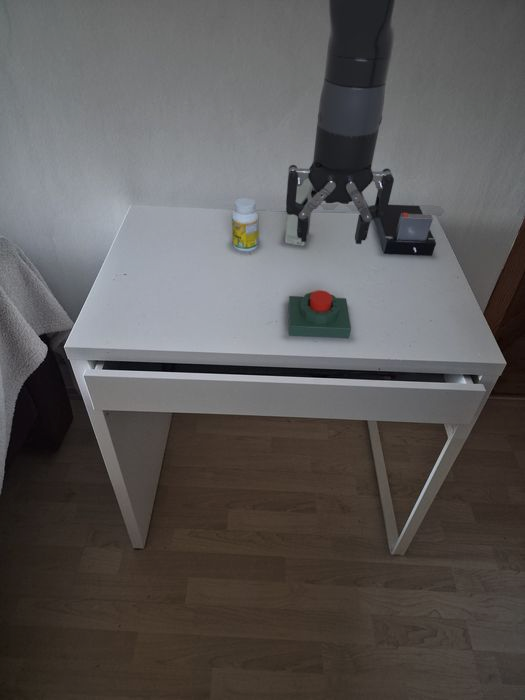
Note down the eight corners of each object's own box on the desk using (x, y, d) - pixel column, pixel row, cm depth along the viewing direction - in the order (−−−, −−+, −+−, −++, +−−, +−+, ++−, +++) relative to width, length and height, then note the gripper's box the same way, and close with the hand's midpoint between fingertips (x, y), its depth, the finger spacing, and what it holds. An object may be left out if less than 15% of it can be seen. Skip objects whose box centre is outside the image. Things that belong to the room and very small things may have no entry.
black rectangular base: (436, 266, 90) (441, 252, 87) (386, 264, 90) (389, 250, 87) (416, 217, 103) (419, 204, 101) (372, 215, 104) (375, 203, 101)
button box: (344, 307, 80) (347, 289, 77) (348, 338, 74) (353, 320, 71) (288, 305, 80) (290, 287, 77) (288, 336, 74) (290, 317, 71)
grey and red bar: (424, 236, 92) (431, 213, 88) (425, 241, 91) (433, 217, 87) (395, 235, 92) (401, 212, 88) (396, 239, 91) (402, 216, 87)
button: (330, 298, 76) (331, 290, 74) (331, 312, 73) (333, 304, 72) (308, 298, 76) (309, 289, 74) (309, 311, 73) (310, 303, 72)
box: (304, 247, 93) (310, 188, 84) (283, 243, 94) (288, 185, 85) (309, 234, 97) (315, 176, 88) (289, 231, 98) (293, 173, 88)
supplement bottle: (262, 248, 93) (264, 205, 86) (240, 254, 91) (239, 211, 84) (250, 236, 96) (250, 193, 89) (228, 242, 94) (226, 199, 87)
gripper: (401, 113, 57) (375, 229, 68) (289, 109, 57) (282, 225, 68) (413, 135, 51) (382, 256, 63) (290, 130, 51) (281, 252, 63)
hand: (330, 240), depth 66 cm, fingers open, 7 cm apart
